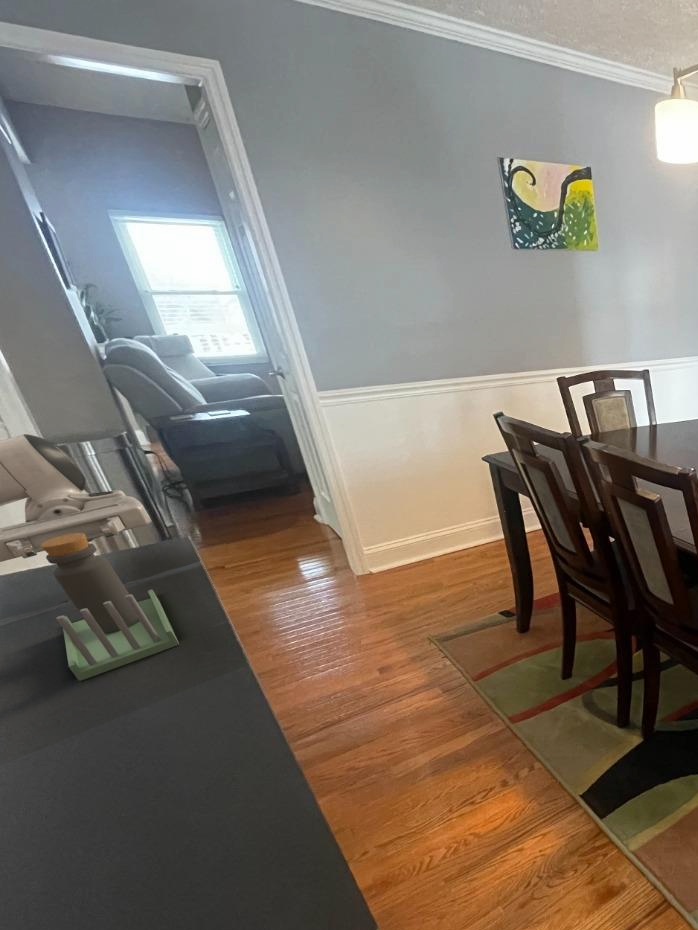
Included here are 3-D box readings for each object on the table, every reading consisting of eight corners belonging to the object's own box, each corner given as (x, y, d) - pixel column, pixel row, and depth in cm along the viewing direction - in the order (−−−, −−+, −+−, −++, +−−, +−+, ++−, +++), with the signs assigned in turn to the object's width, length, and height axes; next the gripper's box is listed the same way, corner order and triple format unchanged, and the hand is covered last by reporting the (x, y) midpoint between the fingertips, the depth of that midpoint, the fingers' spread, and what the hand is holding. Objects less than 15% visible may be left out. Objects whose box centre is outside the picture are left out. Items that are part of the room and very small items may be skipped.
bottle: (83, 632, 93) (23, 547, 85) (125, 612, 98) (72, 529, 90) (110, 636, 91) (52, 549, 84) (152, 615, 96) (100, 532, 89)
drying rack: (79, 681, 83) (39, 627, 79) (70, 631, 95) (35, 581, 91) (179, 644, 91) (148, 593, 86) (159, 602, 103) (131, 555, 98)
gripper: (-38, 524, 96) (-43, 547, 87) (132, 487, 109) (142, 504, 100) (-13, 558, 98) (-15, 584, 90) (150, 518, 112) (161, 537, 103)
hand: (69, 541), depth 95 cm, fingers open, 8 cm apart
